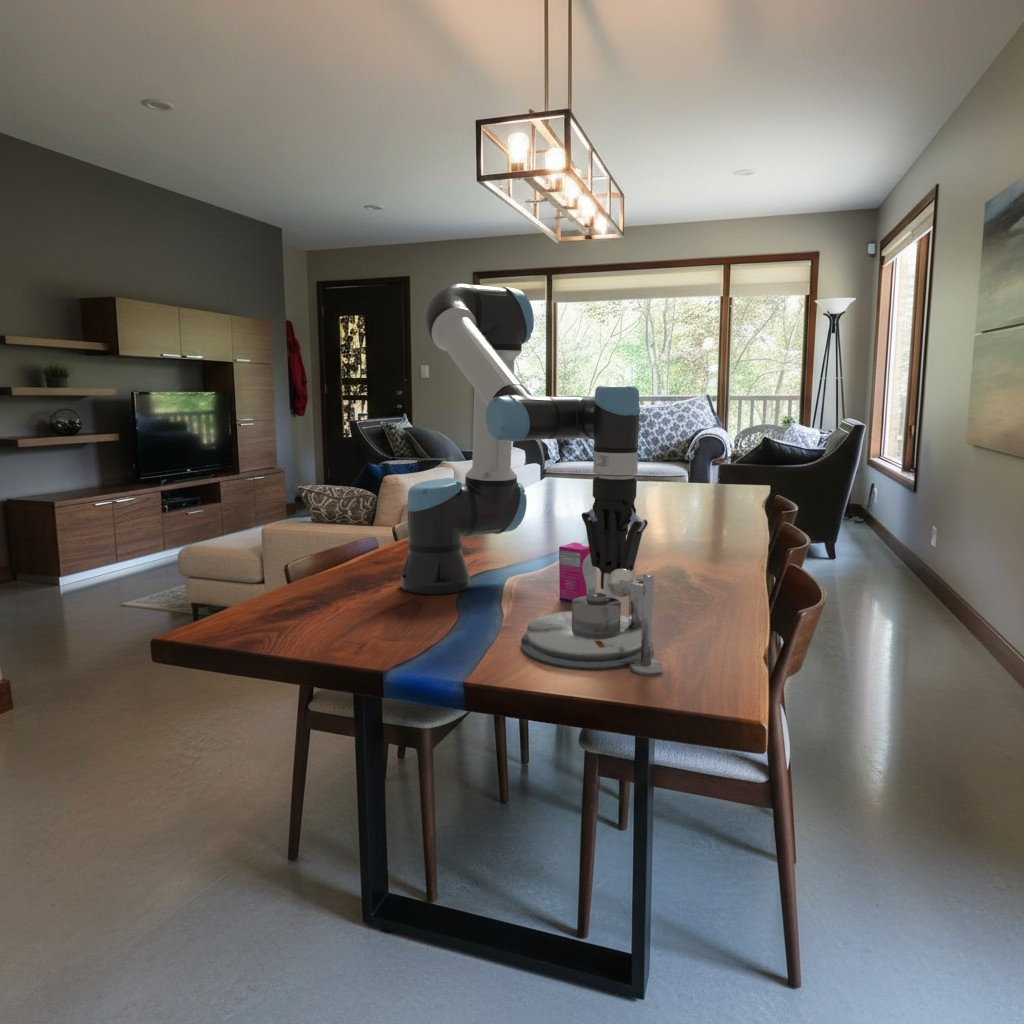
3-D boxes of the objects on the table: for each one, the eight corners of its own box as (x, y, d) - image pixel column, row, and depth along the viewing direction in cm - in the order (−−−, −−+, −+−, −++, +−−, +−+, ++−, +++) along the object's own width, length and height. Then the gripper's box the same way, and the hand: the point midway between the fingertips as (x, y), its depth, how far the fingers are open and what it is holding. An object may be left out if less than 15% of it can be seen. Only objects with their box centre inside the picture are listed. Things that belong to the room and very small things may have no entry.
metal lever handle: (597, 668, 118) (599, 573, 115) (607, 658, 122) (609, 566, 120) (657, 678, 113) (660, 579, 111) (665, 667, 118) (669, 572, 115)
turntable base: (498, 657, 122) (498, 650, 122) (551, 620, 142) (551, 615, 142) (629, 679, 113) (629, 672, 113) (667, 637, 132) (667, 631, 132)
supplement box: (573, 594, 160) (574, 541, 159) (597, 598, 157) (598, 545, 155) (557, 599, 156) (558, 545, 154) (581, 605, 152) (582, 549, 151)
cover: (566, 625, 128) (567, 589, 127) (612, 622, 130) (613, 587, 129) (577, 640, 121) (578, 602, 120) (626, 637, 122) (627, 600, 121)
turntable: (518, 624, 135) (518, 570, 134) (626, 619, 138) (627, 567, 137) (539, 663, 116) (539, 601, 114) (663, 656, 119) (666, 596, 117)
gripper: (572, 474, 132) (569, 604, 136) (632, 481, 123) (627, 621, 126) (599, 471, 137) (596, 597, 141) (659, 477, 128) (653, 612, 132)
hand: (611, 608), depth 134 cm, fingers closed
